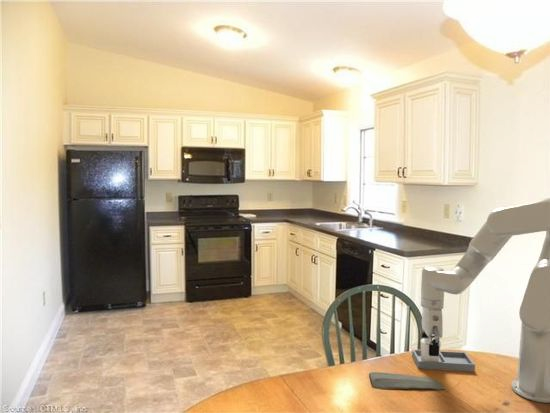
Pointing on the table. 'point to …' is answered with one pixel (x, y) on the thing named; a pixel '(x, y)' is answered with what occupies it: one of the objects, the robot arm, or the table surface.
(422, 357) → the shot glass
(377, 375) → the stone slab
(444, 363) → the tray
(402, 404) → the table surface
